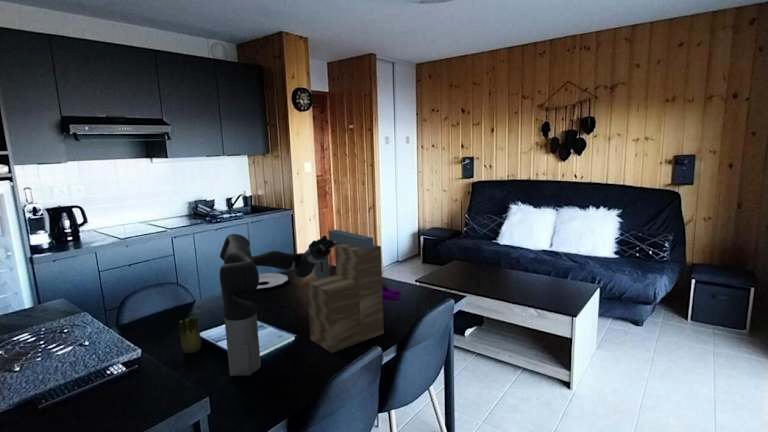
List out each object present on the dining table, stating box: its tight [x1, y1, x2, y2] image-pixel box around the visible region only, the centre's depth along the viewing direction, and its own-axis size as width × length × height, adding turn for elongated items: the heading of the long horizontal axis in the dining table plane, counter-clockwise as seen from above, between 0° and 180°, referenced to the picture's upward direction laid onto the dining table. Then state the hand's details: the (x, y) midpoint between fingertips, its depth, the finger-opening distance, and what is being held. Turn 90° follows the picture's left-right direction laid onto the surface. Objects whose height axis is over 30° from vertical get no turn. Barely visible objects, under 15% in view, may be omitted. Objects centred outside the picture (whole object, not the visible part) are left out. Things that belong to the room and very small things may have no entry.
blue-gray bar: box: [328, 229, 374, 250], centre depth 153 cm, size 23×4×4 cm, turn 39°
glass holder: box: [312, 253, 332, 279], centre depth 222 cm, size 9×14×15 cm, turn 40°
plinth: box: [306, 243, 385, 354], centre depth 149 cm, size 14×22×32 cm, turn 129°
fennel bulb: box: [178, 316, 202, 354], centre depth 142 cm, size 6×5×12 cm
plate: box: [255, 273, 289, 291], centre depth 216 cm, size 25×25×2 cm
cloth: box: [382, 283, 403, 303], centre depth 191 cm, size 22×19×6 cm
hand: (335, 236), depth 162 cm, fingers open, 8 cm apart
